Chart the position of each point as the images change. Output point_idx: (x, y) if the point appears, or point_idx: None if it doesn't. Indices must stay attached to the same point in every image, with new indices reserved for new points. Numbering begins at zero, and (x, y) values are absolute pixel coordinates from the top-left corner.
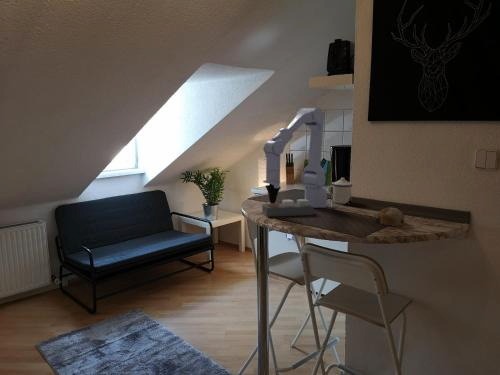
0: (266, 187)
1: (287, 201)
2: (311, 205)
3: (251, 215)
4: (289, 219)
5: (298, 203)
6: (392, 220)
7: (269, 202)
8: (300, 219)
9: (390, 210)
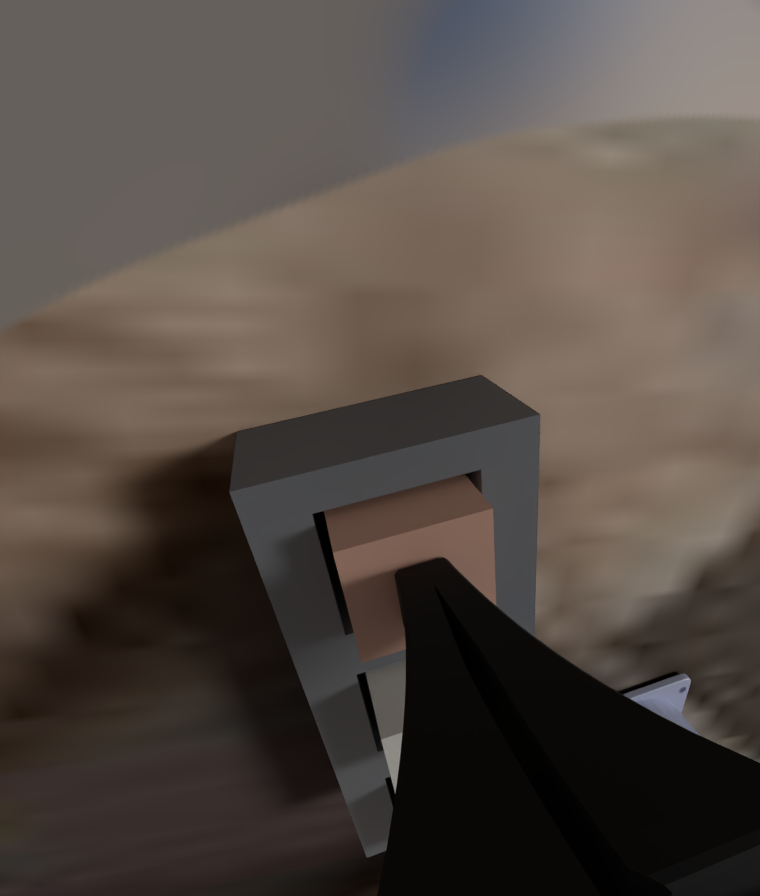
0: (641, 823)
1: (394, 762)
2: None
3: (283, 209)
4: (142, 660)
5: None
6: None
7: (442, 548)
8: (168, 731)
9: None
